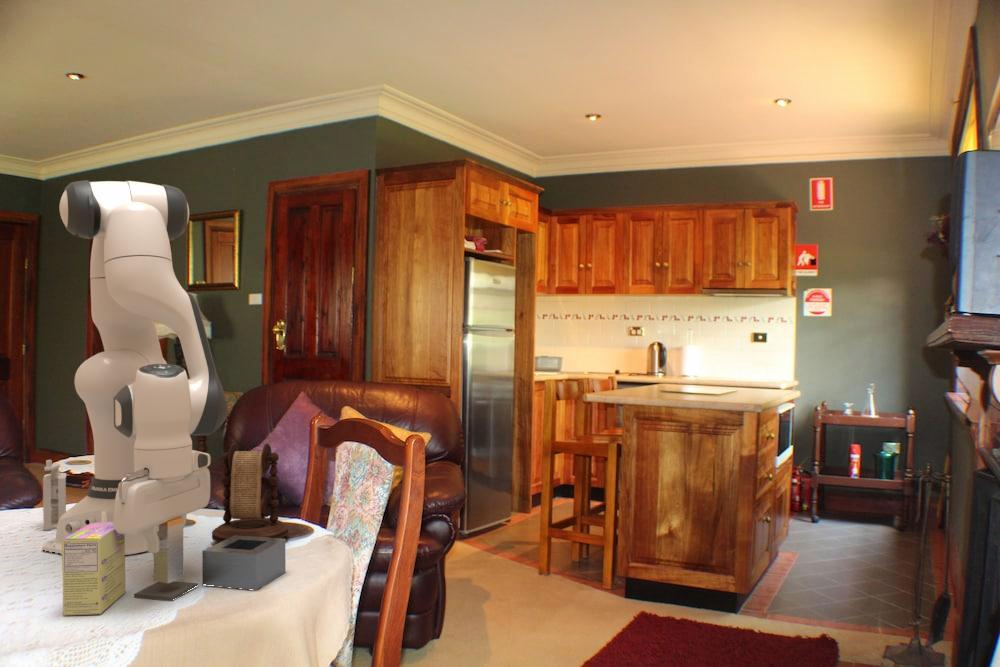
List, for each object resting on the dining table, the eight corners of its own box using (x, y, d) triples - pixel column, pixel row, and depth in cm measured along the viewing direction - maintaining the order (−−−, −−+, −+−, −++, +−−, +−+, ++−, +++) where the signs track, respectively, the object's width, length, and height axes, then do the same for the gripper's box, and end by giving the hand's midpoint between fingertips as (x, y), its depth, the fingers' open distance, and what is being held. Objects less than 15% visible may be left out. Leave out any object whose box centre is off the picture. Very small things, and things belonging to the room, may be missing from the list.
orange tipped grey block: (168, 583, 131) (167, 522, 130) (153, 580, 132) (153, 519, 132) (183, 577, 133) (183, 517, 133) (169, 574, 135) (168, 515, 135)
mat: (134, 597, 131) (134, 593, 131) (161, 583, 137) (161, 580, 137) (172, 600, 129) (172, 597, 129) (198, 586, 136) (198, 583, 136)
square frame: (202, 586, 136) (202, 550, 136) (234, 568, 146) (234, 535, 146) (256, 590, 134) (256, 554, 134) (285, 572, 144) (285, 538, 144)
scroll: (200, 552, 156) (199, 448, 156) (228, 531, 171) (227, 437, 171) (275, 552, 156) (275, 449, 156) (297, 532, 171) (296, 438, 170)
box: (90, 593, 133) (89, 521, 132) (126, 592, 133) (125, 521, 133) (61, 616, 122) (60, 539, 122) (100, 615, 123) (99, 538, 122)
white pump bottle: (68, 519, 181) (67, 453, 181) (65, 529, 172) (65, 459, 172) (46, 521, 179) (46, 454, 179) (43, 532, 171) (42, 461, 170)
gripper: (137, 476, 122) (139, 567, 122) (216, 453, 142) (217, 532, 142) (101, 475, 123) (103, 565, 124) (184, 452, 143) (186, 530, 143)
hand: (165, 547), depth 133 cm, fingers closed on orange tipped grey block, 3 cm apart
